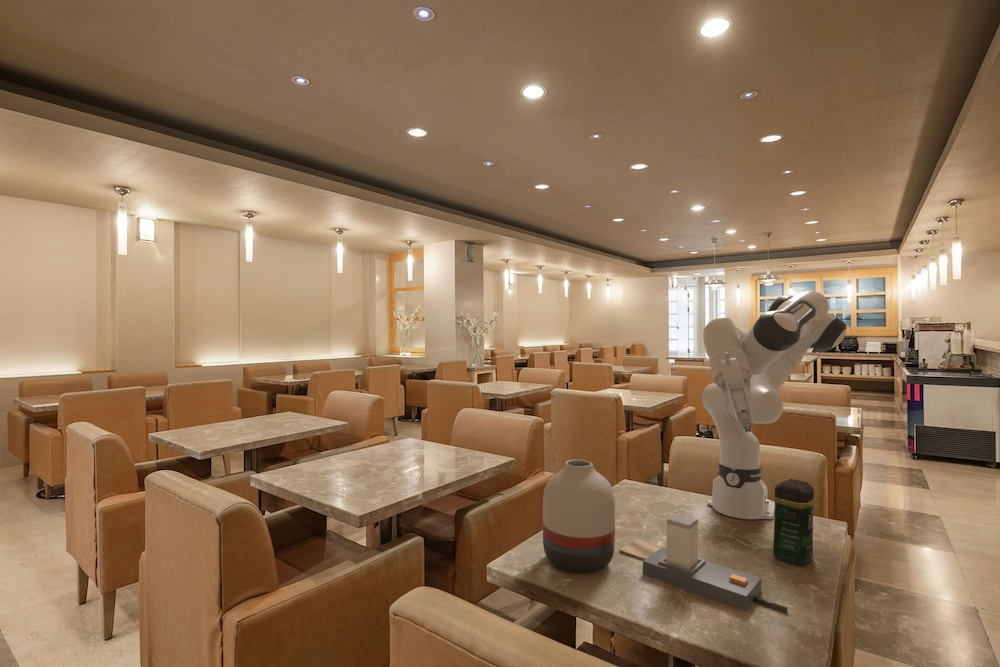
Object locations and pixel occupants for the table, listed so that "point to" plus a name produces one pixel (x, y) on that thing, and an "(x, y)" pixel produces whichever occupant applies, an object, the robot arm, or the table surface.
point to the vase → (579, 519)
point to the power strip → (709, 581)
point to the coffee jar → (793, 522)
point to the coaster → (640, 549)
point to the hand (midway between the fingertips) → (745, 421)
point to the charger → (682, 541)
